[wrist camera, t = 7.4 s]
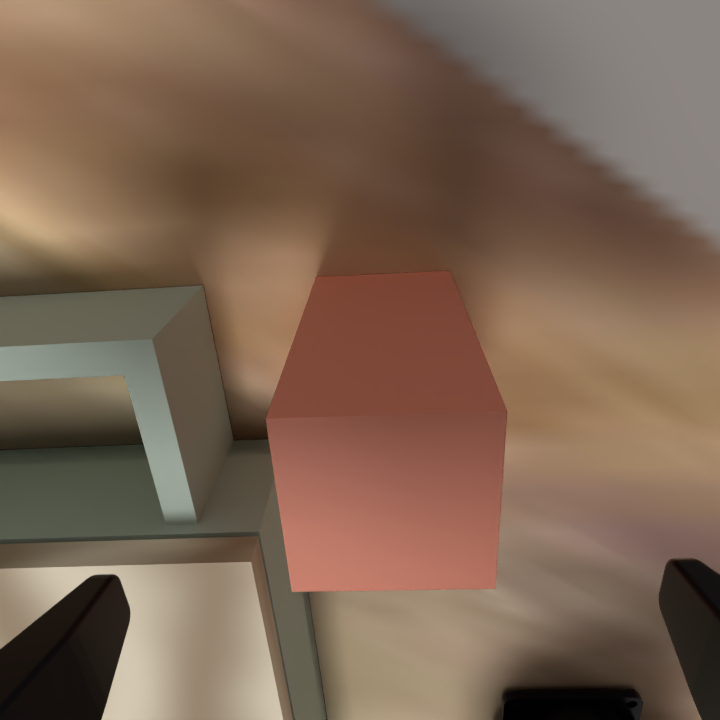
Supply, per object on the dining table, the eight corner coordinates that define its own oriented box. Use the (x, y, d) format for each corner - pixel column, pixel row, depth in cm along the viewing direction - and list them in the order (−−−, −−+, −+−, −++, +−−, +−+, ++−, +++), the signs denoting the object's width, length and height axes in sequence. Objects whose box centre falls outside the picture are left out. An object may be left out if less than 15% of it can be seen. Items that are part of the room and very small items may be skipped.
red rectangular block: (449, 270, 18) (507, 411, 10) (448, 389, 20) (495, 588, 12) (316, 277, 18) (265, 419, 10) (327, 393, 20) (291, 591, 12)
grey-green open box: (262, 282, 18) (223, 341, 14) (332, 753, 29) (323, 871, 25) (-243, 310, 19) (-431, 374, 15) (9, 755, 31) (-56, 869, 26)
